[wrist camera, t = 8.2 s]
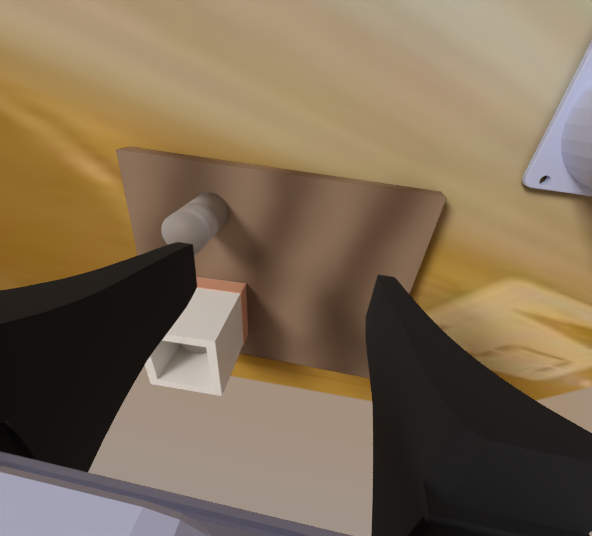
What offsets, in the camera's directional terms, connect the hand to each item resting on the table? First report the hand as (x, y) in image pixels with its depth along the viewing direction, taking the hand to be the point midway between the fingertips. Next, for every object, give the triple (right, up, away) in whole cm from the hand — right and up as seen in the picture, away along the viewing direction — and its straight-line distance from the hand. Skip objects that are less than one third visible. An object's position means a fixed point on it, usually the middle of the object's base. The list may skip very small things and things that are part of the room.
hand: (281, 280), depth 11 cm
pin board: (-1, 0, +11) cm, 11 cm away
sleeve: (-6, -3, +12) cm, 14 cm away
